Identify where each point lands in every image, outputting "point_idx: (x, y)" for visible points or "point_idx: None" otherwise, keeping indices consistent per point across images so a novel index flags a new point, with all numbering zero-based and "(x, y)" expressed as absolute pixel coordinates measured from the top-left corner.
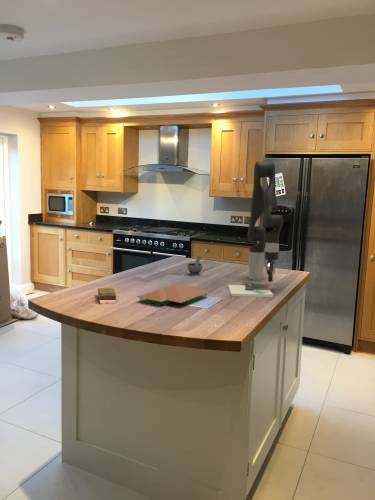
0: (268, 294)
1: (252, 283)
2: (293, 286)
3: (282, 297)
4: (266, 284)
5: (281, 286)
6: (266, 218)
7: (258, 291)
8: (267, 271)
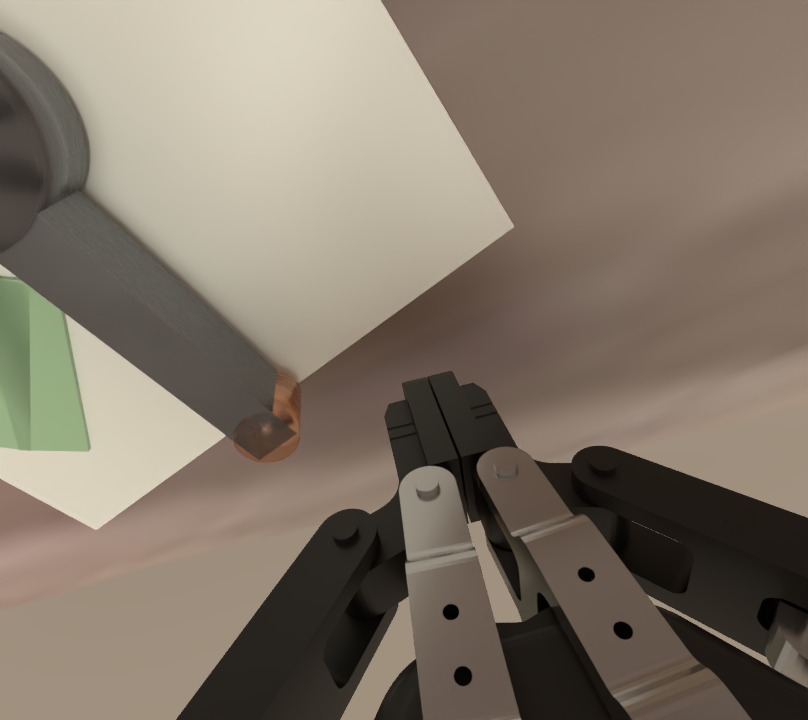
0: (38, 498)
1: (14, 177)
2: (758, 415)
3: (202, 552)
4: (248, 406)
5: (709, 325)
6: None
7: (6, 349)
8: (261, 628)
